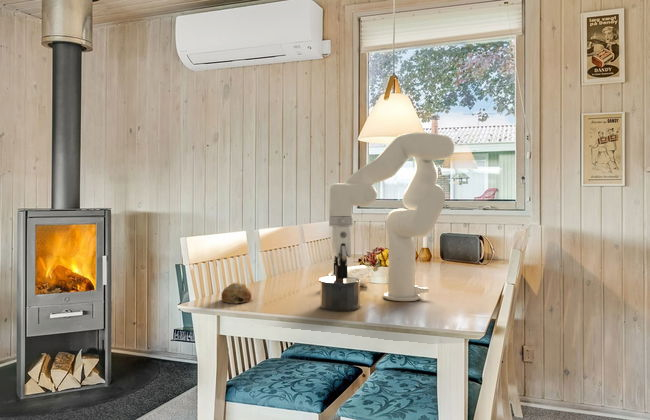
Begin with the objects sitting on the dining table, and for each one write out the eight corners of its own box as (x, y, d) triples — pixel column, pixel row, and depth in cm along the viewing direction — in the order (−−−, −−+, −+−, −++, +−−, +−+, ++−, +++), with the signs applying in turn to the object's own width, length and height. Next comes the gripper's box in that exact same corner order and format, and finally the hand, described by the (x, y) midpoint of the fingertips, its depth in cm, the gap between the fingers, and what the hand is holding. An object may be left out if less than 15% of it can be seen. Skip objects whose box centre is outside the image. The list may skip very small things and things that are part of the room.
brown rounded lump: (224, 314, 174) (227, 294, 171) (216, 296, 182) (219, 277, 179) (252, 311, 178) (256, 292, 175) (244, 293, 186) (247, 275, 183)
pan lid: (355, 279, 178) (356, 262, 177) (363, 286, 164) (364, 268, 164) (316, 279, 176) (316, 263, 176) (321, 286, 163) (321, 269, 162)
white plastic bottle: (320, 288, 203) (320, 268, 203) (358, 283, 214) (358, 264, 214) (332, 291, 197) (332, 270, 197) (371, 286, 208) (371, 266, 207)
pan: (353, 300, 180) (353, 276, 180) (364, 312, 162) (364, 285, 162) (318, 301, 178) (318, 276, 178) (324, 313, 161) (324, 286, 161)
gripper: (357, 223, 161) (356, 280, 162) (347, 220, 179) (347, 272, 179) (333, 223, 160) (332, 281, 161) (325, 220, 178) (325, 272, 178)
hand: (340, 276), depth 170 cm, fingers open, 6 cm apart
